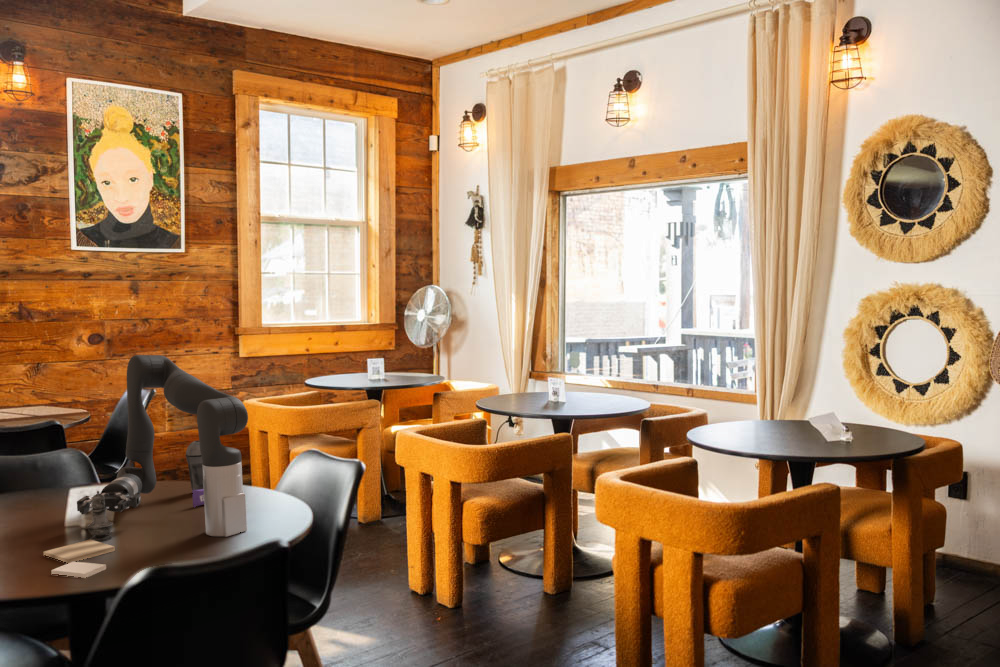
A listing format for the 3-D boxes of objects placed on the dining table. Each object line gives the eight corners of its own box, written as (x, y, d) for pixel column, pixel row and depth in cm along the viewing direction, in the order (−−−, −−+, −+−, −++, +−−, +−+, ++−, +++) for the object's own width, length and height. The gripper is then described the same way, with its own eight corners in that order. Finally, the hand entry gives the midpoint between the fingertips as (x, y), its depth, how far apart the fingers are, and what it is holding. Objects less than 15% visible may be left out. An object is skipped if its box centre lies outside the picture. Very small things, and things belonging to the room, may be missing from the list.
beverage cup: (186, 491, 260) (182, 425, 258) (211, 488, 263) (208, 423, 261) (188, 496, 253) (185, 428, 252) (214, 493, 256) (211, 426, 255)
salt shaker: (95, 543, 208) (92, 494, 207) (82, 540, 212) (79, 491, 211) (118, 537, 213) (115, 489, 212) (106, 534, 216) (103, 486, 216)
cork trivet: (114, 550, 202) (114, 546, 202) (68, 563, 193) (67, 559, 193) (90, 543, 208) (89, 539, 208) (43, 555, 200) (43, 551, 200)
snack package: (194, 508, 240) (193, 490, 239) (191, 507, 241) (190, 489, 241) (231, 499, 248) (231, 482, 248) (228, 498, 250) (227, 481, 249)
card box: (106, 571, 189) (105, 564, 189) (85, 580, 183) (84, 573, 183) (73, 568, 192) (73, 561, 192) (51, 577, 186) (51, 570, 186)
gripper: (90, 481, 228) (69, 495, 212) (147, 477, 230) (130, 492, 214) (92, 509, 228) (71, 526, 212) (148, 505, 230) (132, 522, 214)
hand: (101, 509), depth 213 cm, fingers open, 8 cm apart
